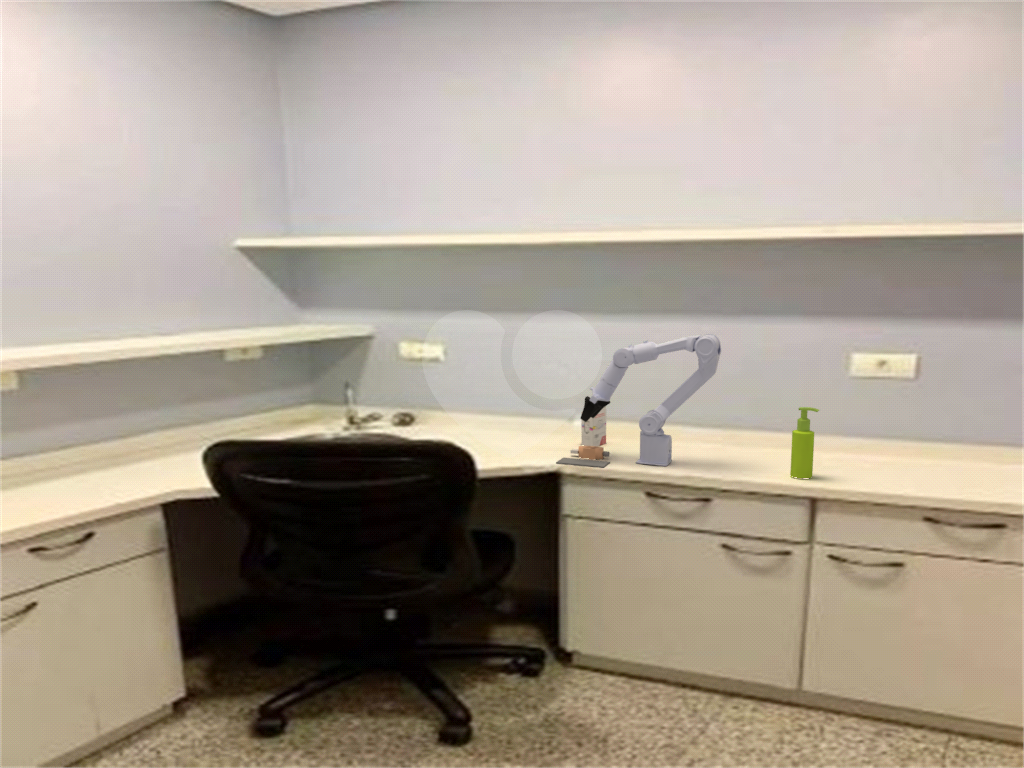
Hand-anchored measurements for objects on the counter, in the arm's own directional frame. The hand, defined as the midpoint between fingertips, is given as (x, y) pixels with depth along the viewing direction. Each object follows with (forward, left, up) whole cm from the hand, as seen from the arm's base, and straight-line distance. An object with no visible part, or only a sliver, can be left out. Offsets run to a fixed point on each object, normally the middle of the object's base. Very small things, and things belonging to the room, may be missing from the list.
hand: (587, 418), depth 259 cm
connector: (-2, 0, -13) cm, 13 cm away
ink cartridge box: (+3, -19, -13) cm, 23 cm away
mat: (-2, +8, -12) cm, 15 cm away
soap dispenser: (-65, +1, -13) cm, 66 cm away
